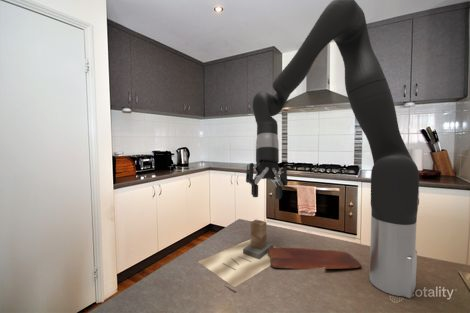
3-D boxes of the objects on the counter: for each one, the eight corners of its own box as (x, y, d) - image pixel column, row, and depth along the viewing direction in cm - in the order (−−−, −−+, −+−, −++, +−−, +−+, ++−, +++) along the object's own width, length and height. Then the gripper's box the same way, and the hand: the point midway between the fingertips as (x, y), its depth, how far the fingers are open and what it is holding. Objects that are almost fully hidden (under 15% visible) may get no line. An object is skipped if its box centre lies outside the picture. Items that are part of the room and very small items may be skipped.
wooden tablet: (272, 271, 62) (272, 265, 62) (265, 250, 72) (266, 246, 72) (366, 272, 63) (367, 266, 63) (347, 252, 73) (347, 247, 73)
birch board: (290, 257, 71) (290, 253, 71) (234, 293, 55) (234, 287, 55) (253, 241, 83) (253, 237, 83) (198, 266, 67) (197, 261, 67)
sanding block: (273, 248, 75) (273, 219, 74) (259, 259, 68) (259, 228, 67) (258, 243, 78) (257, 216, 78) (243, 253, 71) (242, 224, 71)
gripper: (254, 142, 69) (253, 196, 66) (291, 149, 75) (292, 198, 71) (243, 148, 76) (241, 197, 72) (278, 154, 82) (279, 199, 78)
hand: (267, 198), depth 72 cm, fingers open, 8 cm apart
